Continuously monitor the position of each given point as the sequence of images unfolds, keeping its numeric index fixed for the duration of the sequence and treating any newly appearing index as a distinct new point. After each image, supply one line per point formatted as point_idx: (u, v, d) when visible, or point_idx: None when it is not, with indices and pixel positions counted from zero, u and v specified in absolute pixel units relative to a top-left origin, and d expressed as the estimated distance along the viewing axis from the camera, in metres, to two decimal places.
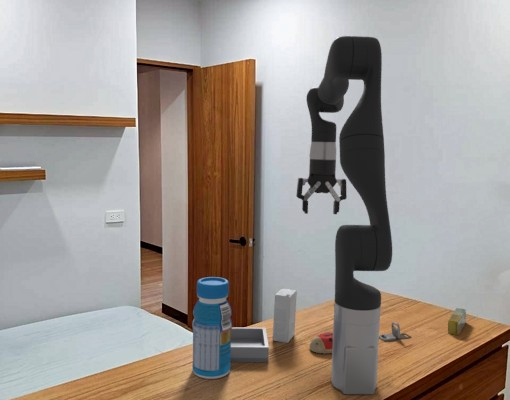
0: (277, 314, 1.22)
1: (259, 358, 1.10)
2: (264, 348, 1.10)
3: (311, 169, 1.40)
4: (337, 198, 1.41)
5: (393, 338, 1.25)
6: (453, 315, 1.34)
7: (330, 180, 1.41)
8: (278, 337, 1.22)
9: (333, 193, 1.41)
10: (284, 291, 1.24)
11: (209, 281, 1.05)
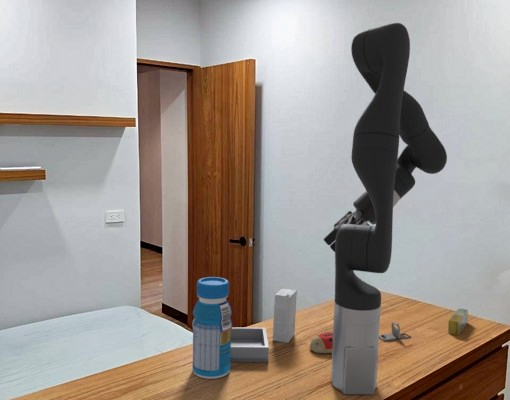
0: (277, 314, 1.22)
1: (259, 358, 1.10)
2: (264, 348, 1.10)
3: None
4: None
5: (393, 338, 1.25)
6: (454, 315, 1.34)
7: (357, 217, 1.20)
8: (278, 337, 1.22)
9: None
10: (284, 291, 1.24)
11: (209, 281, 1.05)
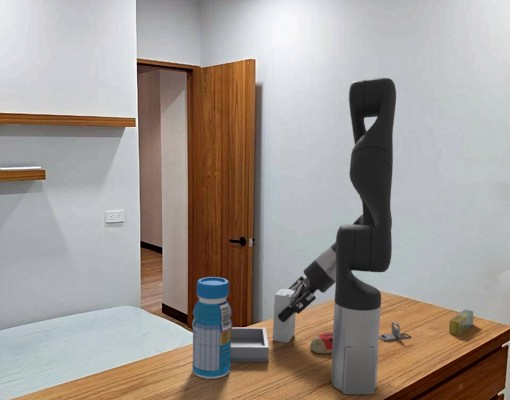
0: (277, 314, 1.22)
1: (259, 358, 1.10)
2: (264, 348, 1.10)
3: None
4: (290, 303, 1.20)
5: (393, 338, 1.25)
6: (457, 316, 1.34)
7: (306, 286, 1.21)
8: (278, 337, 1.22)
9: (293, 296, 1.21)
10: (284, 291, 1.24)
11: (209, 281, 1.05)
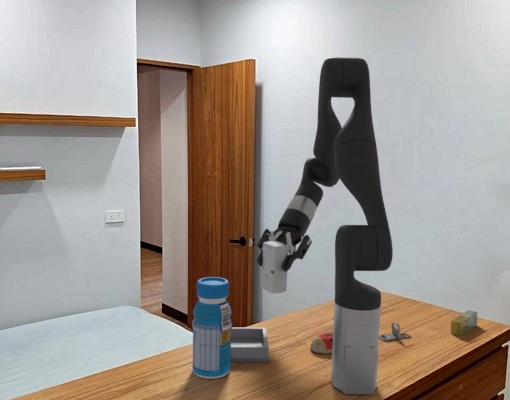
0: (277, 266, 1.21)
1: (259, 358, 1.10)
2: (264, 348, 1.10)
3: None
4: (290, 251, 1.22)
5: (393, 338, 1.25)
6: (460, 316, 1.33)
7: (293, 233, 1.26)
8: (278, 288, 1.22)
9: (288, 244, 1.23)
10: (274, 243, 1.24)
11: (209, 281, 1.05)
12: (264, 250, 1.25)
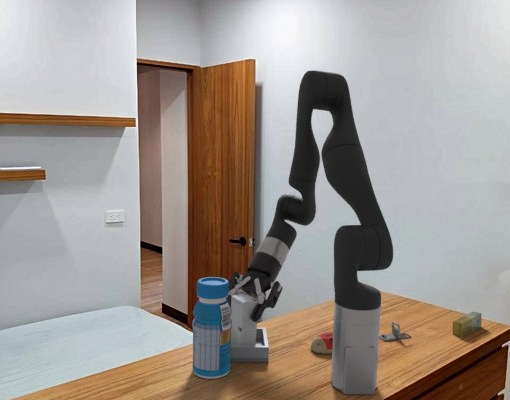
0: (245, 323, 1.12)
1: (259, 358, 1.10)
2: (264, 348, 1.10)
3: None
4: (260, 300, 1.13)
5: (393, 338, 1.25)
6: (462, 317, 1.33)
7: (263, 280, 1.17)
8: None
9: (258, 292, 1.14)
10: (242, 297, 1.15)
11: (209, 281, 1.05)
12: (232, 304, 1.16)
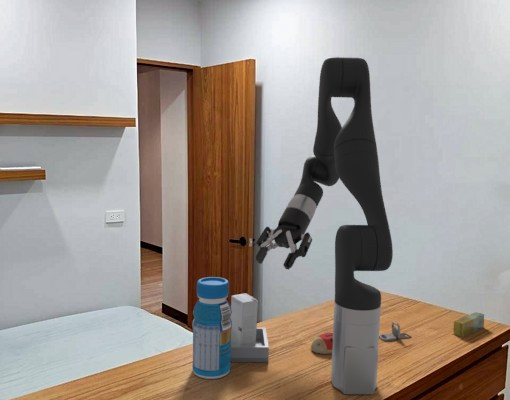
0: (245, 323, 1.12)
1: (259, 358, 1.10)
2: (264, 348, 1.10)
3: None
4: (292, 249, 1.22)
5: (393, 338, 1.25)
6: (464, 317, 1.33)
7: (293, 232, 1.26)
8: None
9: (290, 243, 1.23)
10: (242, 297, 1.15)
11: (209, 281, 1.05)
12: (232, 304, 1.16)
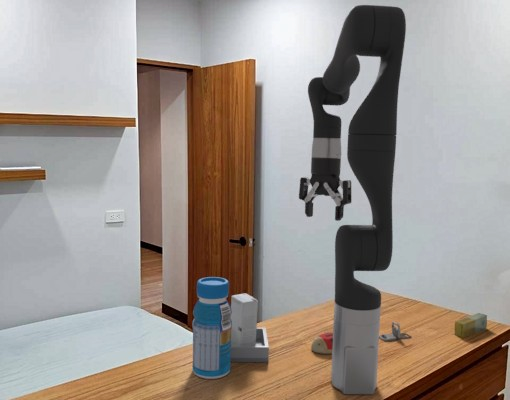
0: (245, 323, 1.12)
1: (259, 358, 1.10)
2: (264, 348, 1.10)
3: None
4: (337, 202, 1.24)
5: (393, 338, 1.25)
6: (466, 318, 1.32)
7: (330, 181, 1.24)
8: None
9: (332, 196, 1.24)
10: (242, 297, 1.15)
11: (209, 281, 1.05)
12: (232, 304, 1.16)
